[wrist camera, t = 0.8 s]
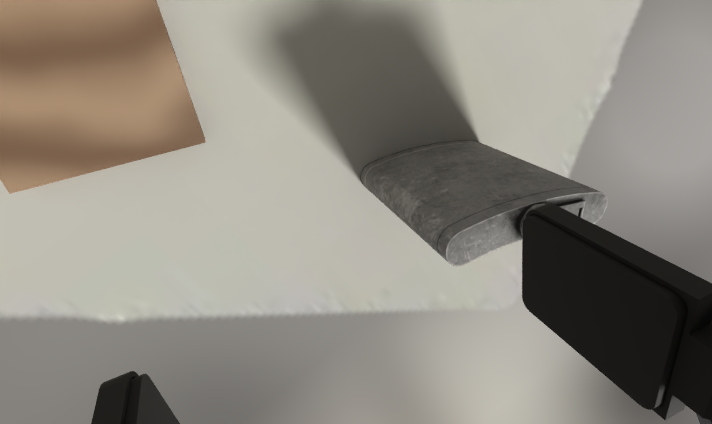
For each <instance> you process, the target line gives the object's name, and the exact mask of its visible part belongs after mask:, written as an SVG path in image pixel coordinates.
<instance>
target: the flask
mask: <svg viewBox="0 0 712 424" xmlns="http://www.w3.org/2000/svg"><path fill="white" fill-rule="evenodd" d="M361 182H362V184H363V185H364V186H365V187H366V188H367V189H368V190H369V191H370V192H371V193H373V194H374V195H375V196H376V197H377V198H378V199H379V200H380V201H381V202H382V203H384V204H385V205H386V206H387V207H388V208H389V209H390V210H391V211H392V212H393V213H395V214H396V215H397V216H398V217H399V218H400V219H401V220H402V221H403V222H405V223H406V224H407V225H408V226H409V227H410V228H411V229H412V230H413V231H414V232H416V233H417V234H418V235H419V236H420V237H421V238H422V239H423V240H424V241H425V242H427V243H428V244H429V245H430V246H431V247H432V248H433V249H434V250H435V251H437V252H438V253H439V254H440V255H441V256H442V257H443V258H444V259H445V260H446V261H448V262H449V263H450V264H451V265H453V266H462V265H465V264H467V263H469V262H471V261H473V260H475V259H477V258H479V257H481V256H483V255H485V254H488V253H490V252H492V251H495V250H497V249H499V248H502V247H504V246H507V245H509V244H512V243H515V242H518V241H521V240H523V221H524V219H526V215H527V213H528V212H529V211H530V210H532V209H535V208H537V207H540V206H542V205H545V204H547V203H552V204H555V205H557V206H559V207H561V208H563V209H565V210H567V211H569V212H571V213H573V214H575V215H577V216H579V217H581V218H583V219H585V220H587V221H589V222H591V223H593V224H594V223H596V222H597V221H598V220H599V219H600V218H601V217H602V215H603V214H604V212H605V210H606V207H607V197H606V195H605V194H604V193H602V192H600V191H597V190H595V189H593V188H590V187H588V186H585V185H583V184H580V183H578V182H575V181H573V180H570V179H568V178H565V177H563V176H561V175H558V174H556V173H553V172H551V171H548V170H546V169H543V168H541V167H538V166H536V165H533V164H531V163H529V162H526V161H524V160H521V159H519V158H516V157H514V156H511V155H509V154H506V153H504V152H501V151H499V150H497V149H494V148H492V147H489V146H487V145H484V144H482V143H479V142H477V141H451V142H442V143H435V144H430V145H425V146H420V147H416V148H412V149H408V150H404V151H401V152H398V153H395V154H392V155H389V156H386V157H384V158H381V159H379V160H376V161H374V162H372V163H370V164H368V165H367V166H365V168H364V169H363V171H362V173H361Z"/></svg>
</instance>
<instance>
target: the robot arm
mask: <svg viewBox="0 0 712 424" xmlns="http://www.w3.org/2000/svg"><path fill="white" fill-rule="evenodd" d="M522 298H523V302H524V304H525V306H526V308H527V309H528V310H529V311H530V312H531V313H532V314H533V315H535V316H536V317H537V318H538V319H539V320H541V321H542V322H543V323H544V324H545V325H546V326H548V327H549V328H550V329H551V330H552V331H553V332H555V333H556V334H557V335H558V336H559V337H561V338H562V339H563V340H564V341H565V342H566V343H568V344H569V345H570V346H571V347H572V348H573V349H575V350H576V351H577V352H578V353H579V354H581V355H582V356H583V357H584V358H585V359H586V360H588V361H589V362H590V363H591V364H592V365H594V366H595V367H596V368H597V369H598V370H599V371H600V372H602V373H603V374H604V375H605V376H606V377H608V378H609V379H610V380H611V381H612V382H613V383H615V384H616V385H617V386H618V387H619V388H620V389H622V390H623V391H624V392H625V393H626V394H628V395H629V396H630V397H631V398H632V399H633V400H635V401H636V402H637V403H638V404H639V405H641V406H642V407H644V408H646V409H650V410H651V409H652V410H654V411H655V412H656V413H657V414H658V415H659V416H661V417H662V418H663V419H664V420H667V419H668V418H670V417H672V416H673V415H675V414H677V413H679V412H680V411H682V410H684V407H685V405H686V406H688V407H689V408H690V409H692V410H693V411H694V412H695V413H696V415H697V418H698V420H699V423H700V424H712V283H709V282H708V281H706V280H704V279H702V278H700V277H698V276H696V275H694V274H692V273H690V272H688V271H686V270H684V269H682V268H680V267H678V266H676V265H674V264H672V263H670V262H668V261H666V260H664V259H662V258H660V257H658V256H656V255H654V254H652V253H650V252H648V251H646V250H644V249H642V248H640V247H638V246H636V245H634V244H632V243H630V242H628V241H626V240H624V239H622V238H621V237H619V236H617V235H614V234H613V233H611V232H609V231H607V230H605V229H603V228H601V227H599V226H597V225H595V224H593V223H591V222H589V221H587V220H585V219H583V218H581V217H579V216H577V215H575V214H573V213H571V212H569V211H567V210H565V209H563V208H561V207H559V206H557V205H555V204H552V203H547V204H545V205H542V206H540V207H537V208H535V209H532V210H530V211H529V212H528V213H527V215H526V219H524V221H523V249H522ZM91 424H180V423H179V422H178V420H177V419H176V417H175V416H174V414H173V413H172V411H171V409H170V408H169V406H168V405H167V403H166V402H165V400H164V399H163V397H162V396H161V394H160V392H159V391H158V390H157V388H156V386H155V385H154V383H153V382H152V380H151V379H150V377H149V376H148V375H147V374H143V375H140V376H139V375H138V374H137V373H136V372H134V371H132V372H129V373H126V374H123V375H121V376H118V377H116V378H113V379H111V380H109V381H106V382H104V383H103V384H102V385H101V386H100V389H99V393H98V397H97V401H96V406H95V410H94V415H93V419H92V423H91Z"/></svg>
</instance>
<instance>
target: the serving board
mask: <svg viewBox="0 0 712 424" xmlns="http://www.w3.org/2000/svg"><path fill="white" fill-rule="evenodd" d="M201 143H205V137H204V134H203V132H202V129H201V126H200V123H199V120H198V117H197V115H196V112H195V109H194V106H193V103H192V100H191V98H190V95H189V92H188V89H187V86H186V83H185V81H184V78H183V75H182V72H181V69H180V66H179V64H178V61H177V58H176V55H175V52H174V49H173V47H172V44H171V41H170V38H169V35H168V32H167V30H166V27H165V24H164V21H163V18H162V15H161V13H160V10H159V7H158V4H157V1H156V0H0V179H1V181H2V182H3V184H4V186H5V187H6V189H7V190H8V192H9V194H10V193H14V192H18V191H22V190H26V189H29V188H33V187H37V186H41V185H45V184H49V183H52V182H56V181H60V180H64V179H68V178H71V177H75V176H79V175H83V174H87V173H90V172H94V171H98V170H102V169H106V168H110V167H113V166H117V165H121V164H125V163H129V162H132V161H136V160H140V159H144V158H148V157H152V156H155V155H159V154H163V153H167V152H171V151H174V150H178V149H182V148H186V147H190V146H193V145H197V144H201Z"/></svg>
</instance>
